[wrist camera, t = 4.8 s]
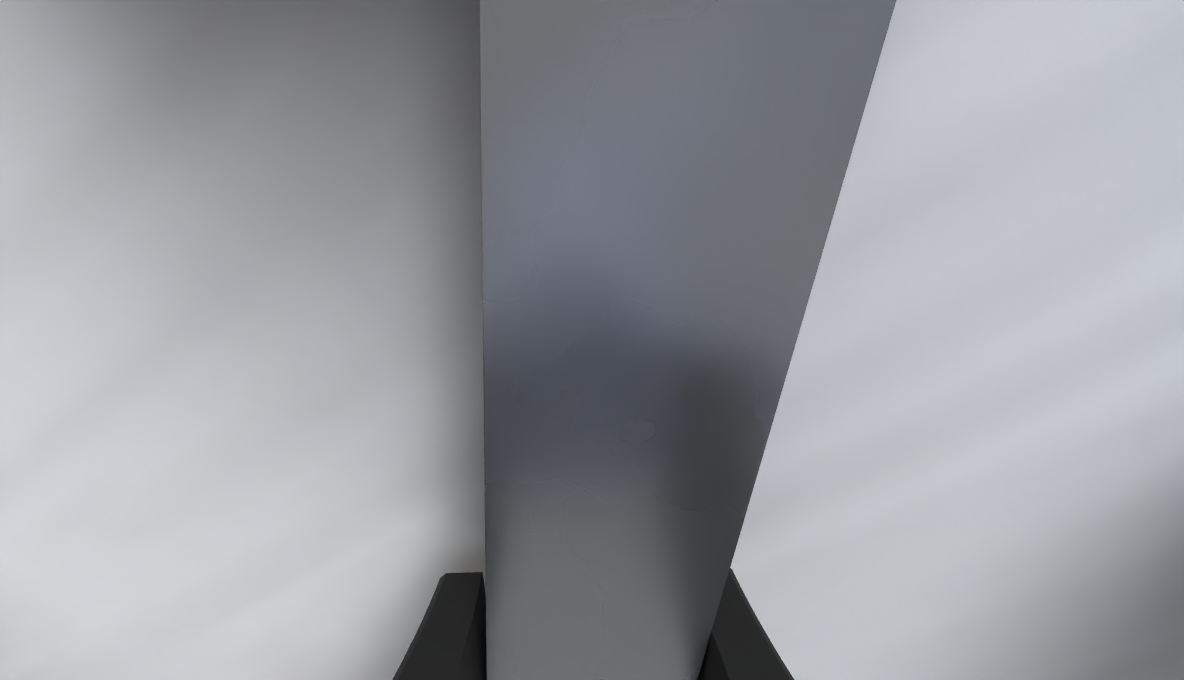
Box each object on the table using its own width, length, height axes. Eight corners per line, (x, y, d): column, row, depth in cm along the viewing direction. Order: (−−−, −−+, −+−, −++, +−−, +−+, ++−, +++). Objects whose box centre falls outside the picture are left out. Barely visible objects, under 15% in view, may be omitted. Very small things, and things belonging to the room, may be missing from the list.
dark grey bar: (850, -383, 6) (1125, -715, 3) (645, 625, 14) (667, 799, 11) (513, -431, 6) (457, -839, 3) (501, 622, 14) (484, 800, 11)
